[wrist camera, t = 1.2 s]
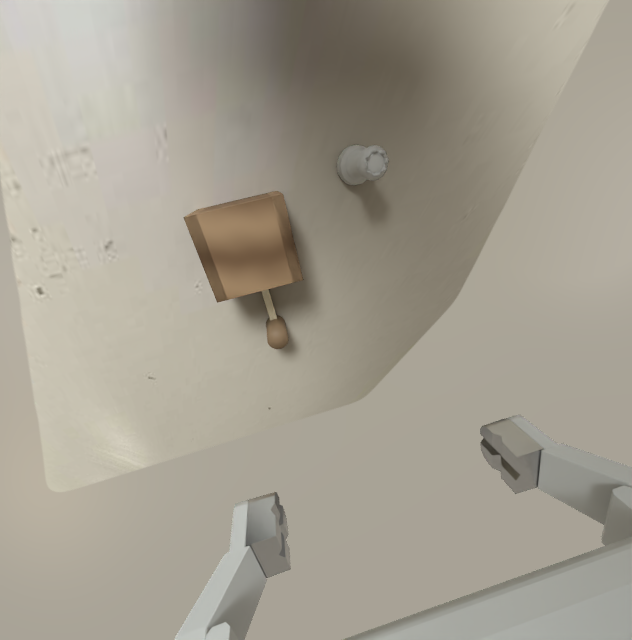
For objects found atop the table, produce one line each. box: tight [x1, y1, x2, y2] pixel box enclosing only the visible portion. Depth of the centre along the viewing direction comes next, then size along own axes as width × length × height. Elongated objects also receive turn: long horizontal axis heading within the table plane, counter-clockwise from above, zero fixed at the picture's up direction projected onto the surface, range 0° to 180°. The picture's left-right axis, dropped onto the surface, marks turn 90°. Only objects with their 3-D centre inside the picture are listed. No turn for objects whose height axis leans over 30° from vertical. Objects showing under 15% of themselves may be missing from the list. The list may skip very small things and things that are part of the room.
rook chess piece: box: [337, 145, 389, 185], centre depth 33 cm, size 4×4×8 cm
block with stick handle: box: [261, 289, 288, 349], centre depth 39 cm, size 16×5×5 cm, turn 11°
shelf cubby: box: [184, 191, 303, 302], centre depth 34 cm, size 9×10×8 cm
